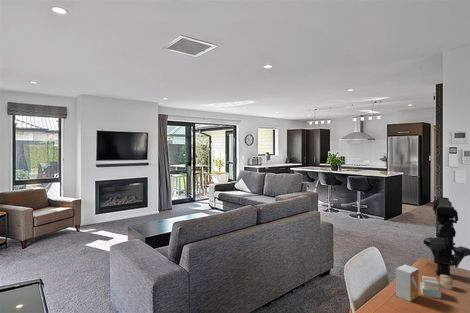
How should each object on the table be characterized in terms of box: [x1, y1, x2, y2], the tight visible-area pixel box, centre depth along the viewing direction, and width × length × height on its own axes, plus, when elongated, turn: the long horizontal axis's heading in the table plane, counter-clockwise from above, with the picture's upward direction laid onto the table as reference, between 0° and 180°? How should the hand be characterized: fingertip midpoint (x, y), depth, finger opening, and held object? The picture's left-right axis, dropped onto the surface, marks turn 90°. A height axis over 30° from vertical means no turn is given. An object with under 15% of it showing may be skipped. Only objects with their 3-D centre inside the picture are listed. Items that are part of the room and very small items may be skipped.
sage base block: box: [419, 281, 442, 300], centre depth 128 cm, size 7×7×4 cm
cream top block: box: [421, 275, 440, 291], centre depth 128 cm, size 6×6×4 cm
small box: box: [395, 263, 419, 302], centre depth 126 cm, size 8×6×13 cm
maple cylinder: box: [439, 275, 454, 291], centre depth 133 cm, size 5×5×5 cm
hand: (445, 263), depth 133 cm, fingers open, 9 cm apart
